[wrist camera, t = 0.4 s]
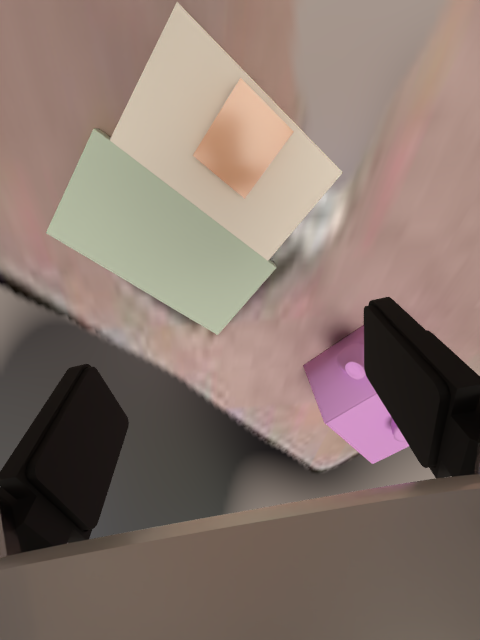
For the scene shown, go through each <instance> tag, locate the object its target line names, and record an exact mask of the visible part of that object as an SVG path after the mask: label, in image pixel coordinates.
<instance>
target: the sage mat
mask: <svg viewBox="0 0 480 640" xmlns="http://www.w3.org/2000/svg"><path fill="white" fill-rule="evenodd" d="M110 139H111V138H110V137H109V136H108V135H106V134H105V133H104V132H103V131H101V130H100V129H95V128H94V129H93V131H92V133H91V136H90V138H89V140H88V142H87V144H86V147H85V149H84V151H83V153H82V155H81V158H80V160H79V162H78V164H77V166H76V168H75V171H74V173H73V175H72V177H71V179H70V182H69V184H68V186H67V188H66V190H65V193H64V195H63V197H62V199H61V201H60V204H59V206H58V208H57V210H56V212H55V215H54V217H53V219H52V221H51V223H50V226H49V228H48V230H47V232H46V233H47V234H48V235H50V236H52V237H54V238H55V239H57V240H59V241H60V242H62V243H64V244H65V245H67V246H69V247H70V248H72V249H74V250H75V251H77V252H79V253H80V254H82V255H84V256H86V257H87V258H89V259H91V260H92V261H94V262H96V263H97V264H99V265H101V266H102V267H104V268H106V269H107V270H109V271H111V272H112V273H114V274H116V275H118V276H119V277H121V278H123V279H124V280H126V281H128V282H129V283H131V284H133V285H134V286H136V287H138V288H139V289H141V290H143V291H144V292H146V293H148V294H150V295H151V296H153V297H155V298H156V299H158V300H160V301H161V302H163V303H165V304H166V305H168V306H170V307H171V308H173V309H175V310H176V311H178V312H180V313H181V314H183V315H185V316H187V317H188V318H190V319H192V320H193V321H195V322H197V323H198V324H200V325H202V326H203V327H205V328H207V329H208V330H210V331H212V332H213V333H215V334H217V335H218V334H219V333H220V332H221V331H222V330H223V328H224V327H225V326H226V325H227V324H228V323H229V322H230V320H231V319H232V318H233V317H234V316H235V315H236V314H237V312H238V311H239V310H240V309H241V308H242V307H243V305H244V304H245V303H246V302H247V301H248V300H249V299H250V297H251V296H252V295H253V294H254V293H255V292H256V291H257V289H258V288H259V287H260V286H261V285H262V284H263V283H264V281H265V280H266V279H267V278H268V277H269V276H270V275H271V273H272V272H273V271H274V270H275V269H276V265H275V263H273V262H272V261H271V260H270V259H269V260H268V261H267V260H266V259H265V258H263V257H262V256H261V255H259V254H258V253H257V252H255V251H254V250H253V249H252V248H250V247H249V246H248V245H246V244H245V243H244V242H242V241H241V240H240V239H238V238H237V237H236V236H234V235H233V234H232V233H231V232H229V231H228V230H227V229H225V228H224V227H223V226H221V225H220V224H219V223H217V222H216V221H215V220H213V219H212V218H211V217H210V216H208V215H207V214H206V213H204V212H203V211H202V210H200V209H199V208H198V207H196V206H195V205H194V204H192V203H191V202H190V201H189V200H187V199H186V198H185V197H183V196H182V195H181V194H179V193H178V192H177V191H175V190H174V189H173V188H171V187H170V186H169V185H168V184H166V183H165V182H164V181H162V180H161V179H160V178H158V177H157V176H156V175H154V174H153V173H152V172H150V171H149V170H148V169H147V168H145V167H144V166H143V165H141V164H140V163H139V162H137V161H136V160H135V159H133V158H132V157H131V156H129V155H128V154H127V153H126V152H124V151H123V150H122V149H120V148H119V147H118V146H116V145H115V144H114V143H112V142H111V141H110Z"/></svg>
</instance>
